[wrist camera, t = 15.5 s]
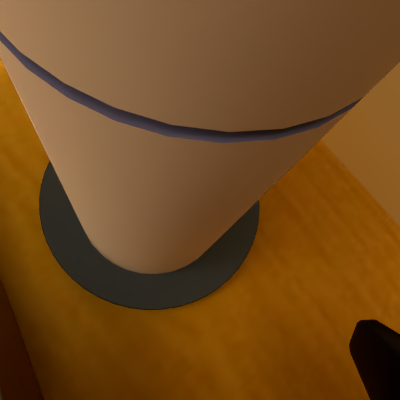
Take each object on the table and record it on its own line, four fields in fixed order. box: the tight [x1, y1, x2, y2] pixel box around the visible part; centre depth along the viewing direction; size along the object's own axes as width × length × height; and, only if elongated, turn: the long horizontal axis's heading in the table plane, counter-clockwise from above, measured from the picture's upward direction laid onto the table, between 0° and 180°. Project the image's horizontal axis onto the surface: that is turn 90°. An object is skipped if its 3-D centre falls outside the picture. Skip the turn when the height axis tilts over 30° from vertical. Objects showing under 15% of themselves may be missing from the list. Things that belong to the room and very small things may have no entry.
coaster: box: [39, 161, 259, 310], centre depth 18 cm, size 11×11×1 cm
